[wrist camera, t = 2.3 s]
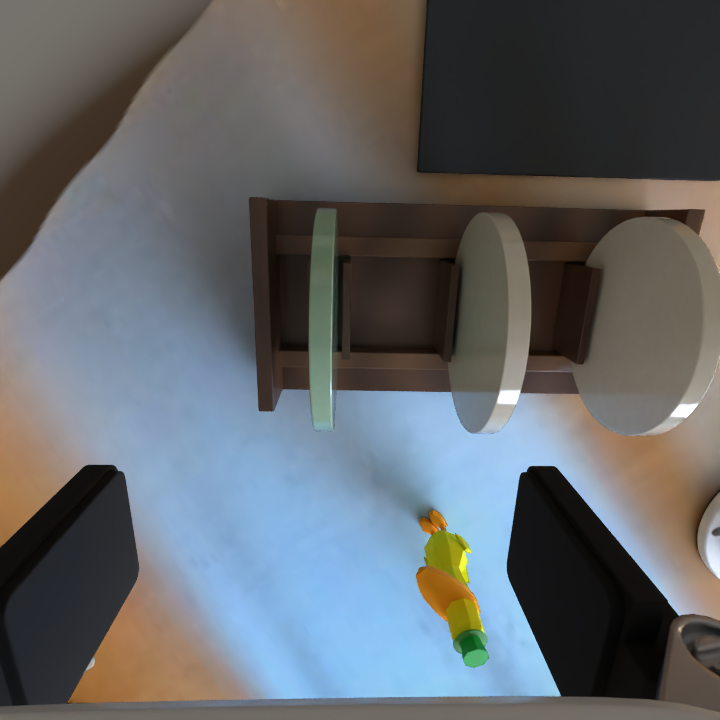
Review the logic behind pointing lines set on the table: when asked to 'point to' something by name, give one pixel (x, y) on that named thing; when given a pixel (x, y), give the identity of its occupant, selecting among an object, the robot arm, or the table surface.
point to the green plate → (324, 319)
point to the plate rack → (418, 291)
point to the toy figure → (452, 589)
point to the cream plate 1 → (490, 323)
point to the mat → (572, 88)
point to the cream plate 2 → (650, 327)
